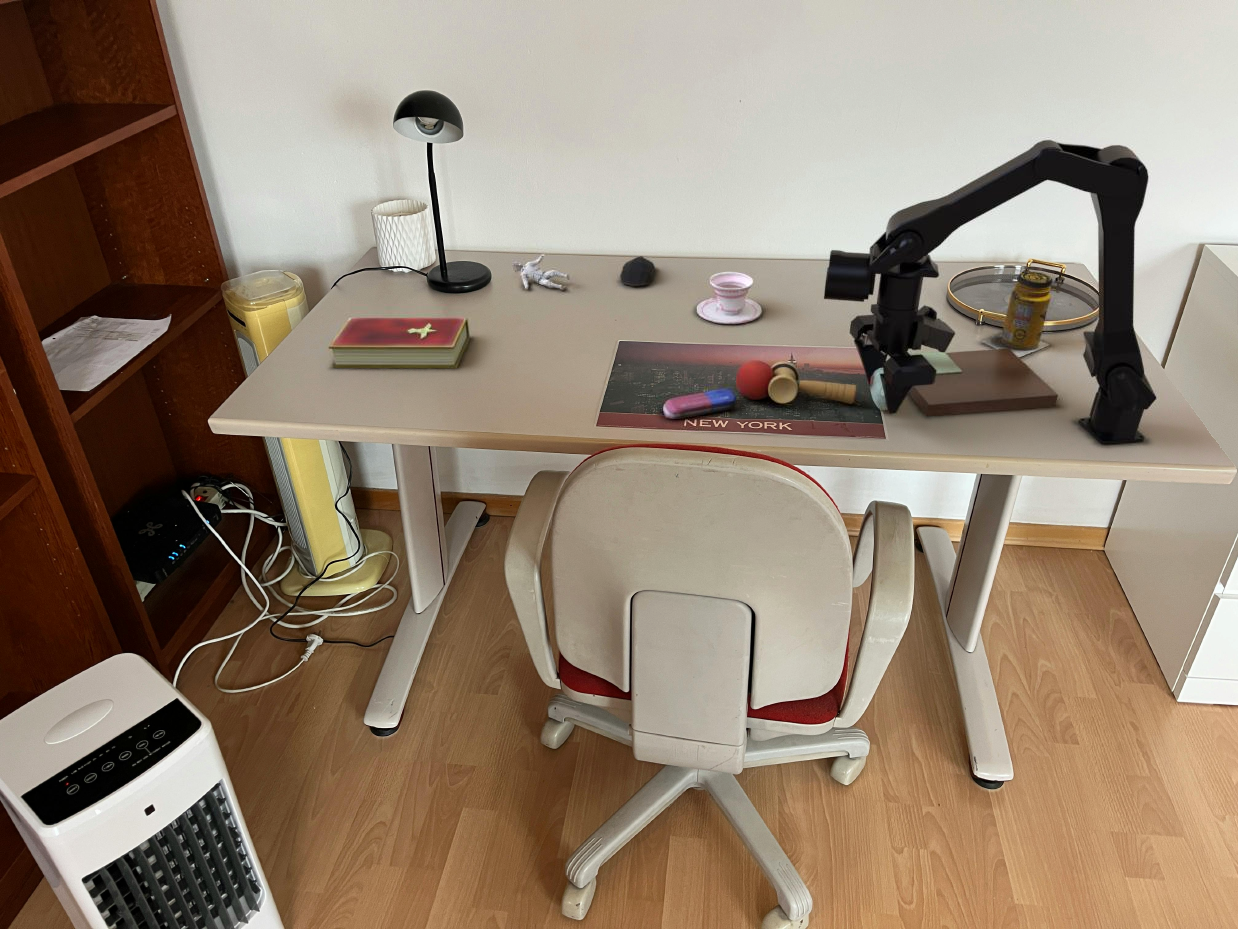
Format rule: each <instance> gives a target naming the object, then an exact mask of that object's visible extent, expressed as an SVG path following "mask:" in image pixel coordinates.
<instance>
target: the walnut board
mask: <svg viewBox="0 0 1238 929" xmlns="http://www.w3.org/2000/svg"><path fill="white" fill-rule="evenodd" d="M909 354H910V355H920V354H922V355H923V356H924V357H925V358H926V359H927V360H928V361H929V362H930V364H931V365H932V366H933V367H934V368H935V369H936V370H937V371H936V377H935V382H934V383H933V384H932V385H919V386H913V387H912V388H911V389H910V391H909V392H908V394H909V396H910V397H911V398H912V399H913V401H914V402H915V403H916V405H917V406H918V407H919V408H920V409H921V412H923V413H924V414H925V416H926V417H935V416H948V415H962V414H963V415H964V414H975V413H988V412H1003V411H1014V410H1015V411H1016V410H1027V409H1040V408H1041V409H1042V408H1053V407H1056V406H1057V402H1058V398H1059V394H1058V393H1057V392H1056V391H1055V390H1054V389H1053V388H1052V387H1051V386H1050V385H1049V384H1048V383H1047V382H1045V381H1044V380H1043V379H1042V378H1041V377H1040V375H1038V374H1037V373H1036V372H1035V371H1034V370H1033V369H1031V368H1030V366H1028V365H1027V364H1026V363H1025V362H1024V361H1023V360H1022V359H1021V357H1017V356H1016V355H1015V354H1014V353H1013V352H1012V351H1011V350H1010V349H1009V348H1007V349H995V348H993V349H982V350H981V349H979V350H968V351H967V350H966V351H951V352H946V351H945V352H944V353H943V352H939V351H937V352H936V351H935V352H934V351H933V352H922V353H909Z"/></svg>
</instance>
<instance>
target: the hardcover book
mask: <svg viewBox="0 0 1238 929" xmlns="http://www.w3.org/2000/svg"><path fill="white" fill-rule="evenodd" d="M469 341H470V327H469V320H468V317H349V318H348V319H347V321H346V322H345V323H344V324H343V326H342V327H341V329H340V330H339V331H338V333H337V334H336V335H335V337H334V339H332V341H331V342H330V344H329V345H328V350H332V354H333V359H334V363H333V364H332V369H457V367H458V365H459V363H460V361H461V359H462V356H463V354H464V352H465V350H466V347H467V346H468V343H469Z"/></svg>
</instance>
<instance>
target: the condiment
mask: <svg viewBox="0 0 1238 929" xmlns="http://www.w3.org/2000/svg"><path fill="white" fill-rule="evenodd" d="M1052 284H1053V278H1052V277H1051V276H1050V275H1048V274H1046V273H1043V272H1038V271H1024V272H1021V273H1019V275H1018V276H1017V278H1016V283H1015V285H1014V288H1013V289H1012V290H1011V294H1010V296H1009V302H1008V307H1007V311H1006V315H1005V319H1004V323H1003V327H1002V328H1003V329H1002V333H1001V334H999V335H995V336H993V337H990V338H988V339H984V340H982V341H981V343H983V344H985V345H987V346H989V347H991V348H993V349H1007V348H1009V349H1010V350H1011V351H1012V352H1013V353H1014V354H1015V355H1016V356H1017V357H1019V358H1021V357H1024V356H1026V355H1029V354H1031V353H1034V352H1038V351H1039V350H1041V349H1044V348H1046V347H1049V346H1050V343H1047V342H1045V341H1042V340H1041V337H1042V333H1043V329H1044V325H1045V321H1046V317H1047V313H1048V310H1049V306H1050V302H1051V293H1050V292H1051V289H1052Z"/></svg>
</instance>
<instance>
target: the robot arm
mask: <svg viewBox="0 0 1238 929" xmlns="http://www.w3.org/2000/svg"><path fill="white" fill-rule="evenodd" d="M1149 178H1150V177H1149V172H1148V169H1147V167H1146V165H1145V164H1144V162H1142V160H1141V159H1140V157H1138V155H1136V153H1134V151H1133V150H1132V149H1131V148H1129V147H1127V146H1125V145H1121V144H1113V145H1109V146H1105V147H1103V148H1100V147H1094V146H1090V145H1083V144H1073V143H1062V142H1058V141H1056V140H1055V141H1054V140H1052V139H1044V140H1041V141H1038V142H1037V143H1035V144H1034V145H1033V146H1032V147H1030V148H1029V149H1028V150H1026V151H1024V152H1022V153H1021V154H1019V155H1017V156H1015V157H1014V158H1012V159H1010V160H1008V161H1006V162H1004V163H1002V164H1001V165H999V166H997V167H996V168H994V169H991V170H990V171H988V172H986V173H985V174H983V175H981V176H979V177H978V178H976V179H974V180H972V181H970V182H968V183H967V184H965V185H963V186H961V187H960V188H957V189H956V190H954V191H952V192H951V193H949V194H947V195H944V196H942V197H939V198H936V199H929V200H926V201H921V202H918V203H916V204H913V205H910V206H908V207H904V208H902V209H900V210H898V211H896V212H895V213H894V214H891V216H890V217H889V220H888V221H887V224H886V227H885V232H884V233H883V234H882V235H881V236H880V237H878V239H876V240H875V241H874V243H873V244H872V245H871V246H870V247H869V252H868V253H866V252H852V251H851V252H850V251H849V252H848V251H844V250H839V249H832V250H830V252H829V262H828V266H827V268H826V275H825V281H824V283H825V284H824V292H823V293H824V294H823V300H829V301H830V300H831V301H846V302H847V301H848V302H860V303H864V302H865V300H867V301H868V300H869V297H870V296H874V291H875V285H876V284H875V282H876V276H877V275H879V283H878V290H877V291H878V292H877V298H876V303H874V304H873V303H872V304H870V313H871V314H863V315H856V316H855V317H854V318H853V319H852V320H851V321H850V325H849V334H850V335H851V336H852V338H853V339H854V340H853V343H854V345H855V348H856V351H857V353H858V356H859V359H860V361H861V364H862V365H861V366H862V367H863V370H864V373H865V376H866V380H867V382H868V385H869V388H870V389H871V387H870V380H871V377H872V375H873V374H874V372H875V371H876V370H878V369H879V368H883V371H884V373H882V374H880V378H881V382H882V387H883V391H884V396H885V401H886V405H887V413H888V414H889V415H892V414H897V413H898V411H899V409H900V407H901V406H902V404H903V402H904V401H905V398H906V397H907V395H908V394H909V393H908V392H909V391H910V389H911V388H912V387H913V386H919V385H932V384H933V383H934V382H935V377H936V371H937V370H936V369H935V368H934V367H933V366H932V365H931V364H930V362H929V361H928V360H927V359H926V358H925V357H924V356H923V355H922V354H920V353H919V354H920V355H910V354H911V353H909V350H912V351H920V350H922V346H923V347H927V348H930V349H934V350H936V351H937V352H943V353H944V352H945V353H946V352H947V349H949V346H950V344H951V342H952V341H953V339H954V337H955V335H956V331H954V329H953V328H951V326H950V325H949V324H948V323H946V322H945V321H943V320H942V319H941V318H938V312H937V311H936V310H935V309H934V308H933V307H931V306H928V305H926V304H924V305H923V306H921V307H920V302H921V301H920V300H921V295H922V290H923V289H922V288H923V282H924V278H930V279H937V278H939V276H940V272H939V266H938V264H937V263H936V262H935V261H933V259H932V258H931V255H930V253H932V252H933V251H934V250H935V249H937V248H938V247H940V246H941V245H942V244H943V243H944V242H945V241H946V240H947V239H948V238H949V237H950V236H951V235H952V234H953V233H954V232H955V231H956V230H958V229H959V228H961V227H963V226H964V225H965V224H968V223H970V222H971V221H974V220H975V219H977V218H980V216H982V215H984V214H986V213H988V212H990V211H992V210H994V209H996V208H998V207H999V206H1001V205H1003V204H1005V203H1007V202H1009V201H1010V200H1013V199H1014V198H1016V197H1018V196H1020V195H1022V194H1024V193H1025V192H1027V191H1029V190H1031V189H1032V188H1035V187H1036V186H1039V185H1040V184H1042V183H1044V182H1046V181H1051V182H1055V183H1059V184H1062V185H1065V186H1067V187H1071V188H1073V189H1076V190H1079V191H1082V192H1084V193H1085V192H1086V193H1089V195H1090V198H1091V201H1092V205H1093V208H1094V213H1095V217H1096V220H1097V241H1098V242H1097V246H1098V247H1097V250H1098V254H1097V255H1098V256H1097V258H1098V259H1097V260H1098V261H1097V262H1098V263H1097V264H1098V265H1097V267H1098V271H1097V272H1098V320H1097V324H1096V325H1095V328H1094V331H1089V330H1087V331H1083V332H1082V333H1083V338H1084V341H1085V349H1084V352H1083V354H1082V357H1083V359H1084V362H1085V364H1086V366H1087V370H1088V371H1089V372H1088V373H1089V375H1090V377H1091V378H1095V380H1096V382H1097V385H1098V389H1097V391H1096V392H1095V396H1094V398H1093V402H1092V405H1091V409H1090V411H1089V417H1083V418H1079V419H1078V423H1079V424H1080V426H1082V427H1083V428H1084V429H1085V430H1086V431H1087V432H1088V433H1089V434H1090V435H1091V436H1092V437H1093V438H1094V439H1096V441H1098V443H1099V444H1102V445H1110V444H1121V443H1123V444H1124V443H1135V442H1143V441H1145V438H1146V436H1144V435H1143V433H1141V432H1140V431H1139V430H1138V429H1139V428H1140V424H1141V421H1142V417H1143V416H1144V415H1143V414H1144V411H1146V410H1148V409H1149V408H1150V407H1151V406H1152V405H1153V404H1154V402H1155V401H1156V400H1157V395H1156V393H1155V391H1154V390H1153V388H1152V386H1151V383H1150V382H1149V379H1148V378H1147V376H1146V374H1145V367H1144V362H1143V357H1142V352H1141V349H1140V346H1139V342H1138V338H1137V335H1136V330H1135V326H1134V310H1135V309H1134V303H1135V302H1134V300H1135V299H1134V298H1135V296H1134V295H1135V239H1136V238H1135V236H1136V234H1135V233H1136V232H1135V231H1136V223H1137V221H1138V218H1139V216H1140V213H1141V212H1142V209H1143V206H1144V201H1145V198H1146V193H1147V189H1148V183H1149ZM888 357H889V358H888Z"/></svg>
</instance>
